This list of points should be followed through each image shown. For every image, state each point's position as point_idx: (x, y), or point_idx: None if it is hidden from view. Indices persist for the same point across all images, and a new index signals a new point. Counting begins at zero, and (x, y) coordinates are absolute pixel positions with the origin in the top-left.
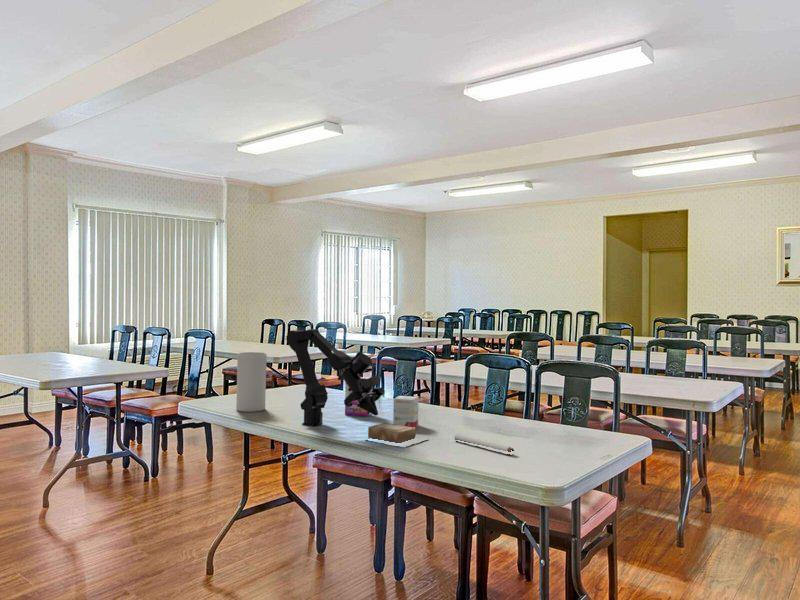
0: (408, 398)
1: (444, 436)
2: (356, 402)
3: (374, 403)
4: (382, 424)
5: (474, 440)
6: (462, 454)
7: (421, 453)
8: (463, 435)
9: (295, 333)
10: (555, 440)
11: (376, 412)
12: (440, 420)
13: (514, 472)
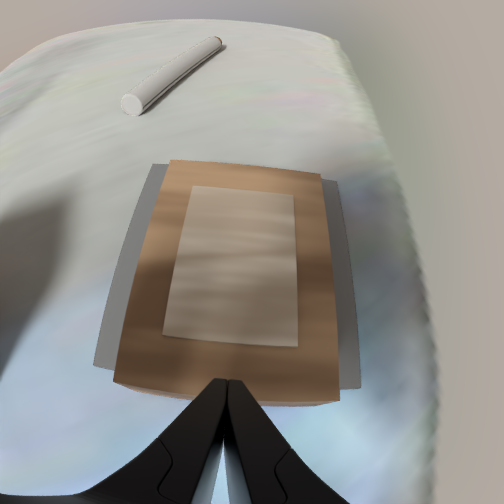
0: None
1: (77, 157)
2: None
3: (165, 468)
4: (186, 364)
5: (178, 67)
6: (268, 82)
7: (339, 135)
8: (147, 82)
9: None
10: (72, 55)
11: (239, 387)
12: None
13: (310, 46)
